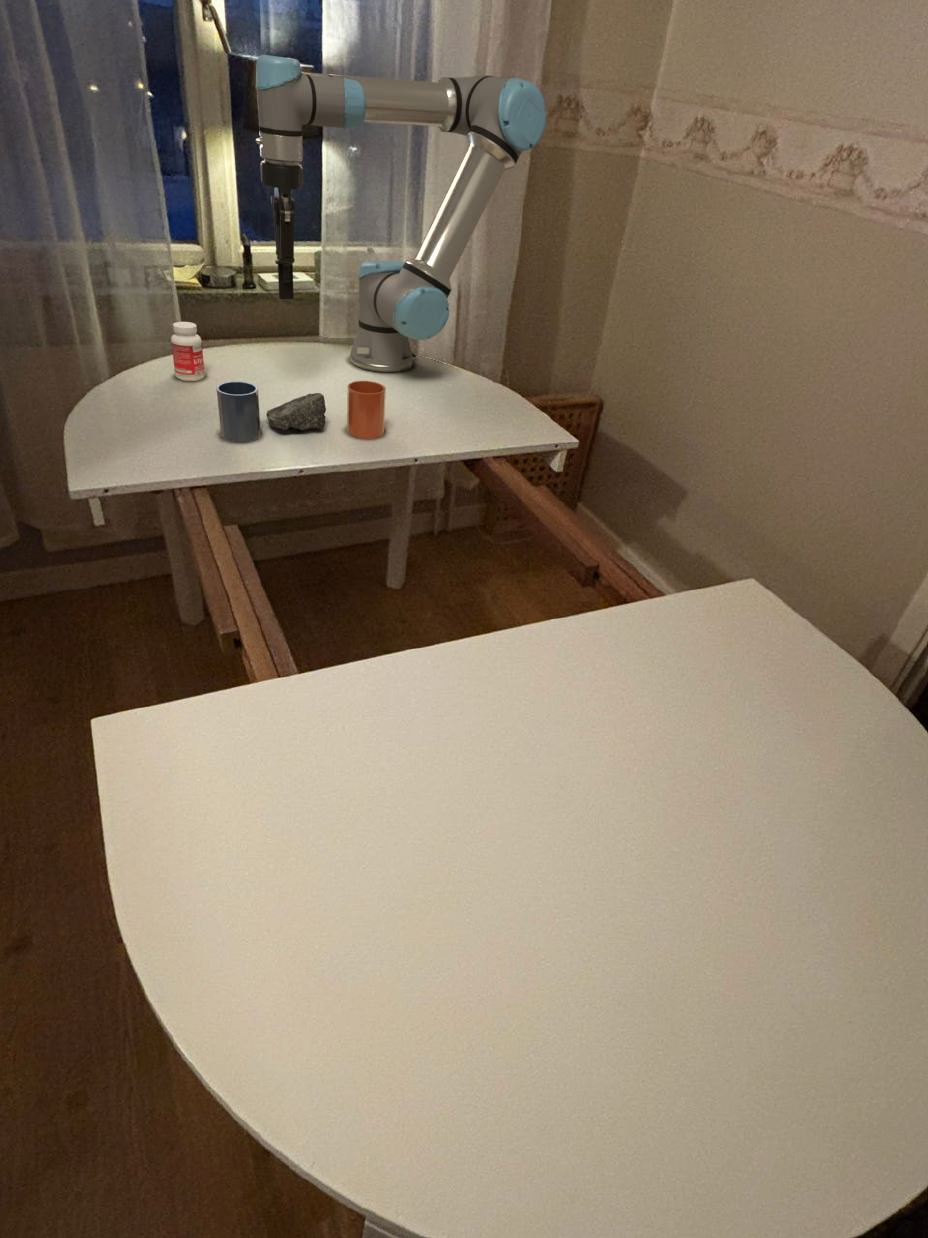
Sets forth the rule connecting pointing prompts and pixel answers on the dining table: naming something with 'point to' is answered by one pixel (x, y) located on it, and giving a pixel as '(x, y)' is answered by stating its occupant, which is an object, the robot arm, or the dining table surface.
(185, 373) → the pill bottle
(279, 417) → the rock
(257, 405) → the cup
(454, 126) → the robot arm
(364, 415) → the orange cup
